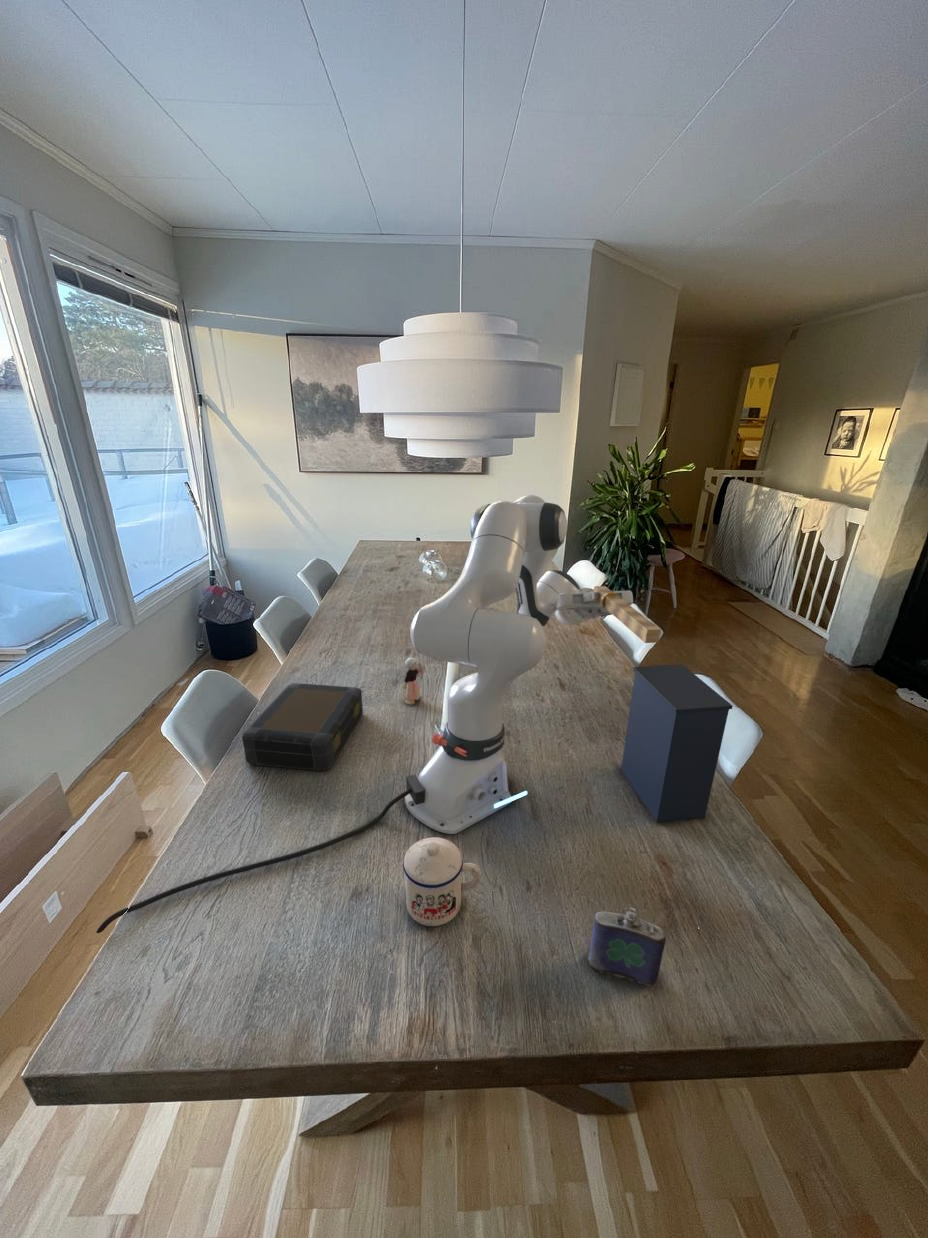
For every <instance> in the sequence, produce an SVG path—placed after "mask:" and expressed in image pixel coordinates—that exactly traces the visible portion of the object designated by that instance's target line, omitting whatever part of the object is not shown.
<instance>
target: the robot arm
mask: <svg viewBox="0 0 928 1238" xmlns="http://www.w3.org/2000/svg"><path fill="white" fill-rule="evenodd" d="M469 531H470V537H471V543H470V547H469V550H468V553H467V557H466V560H465V563H464V566H463V569H462V570H461V571H462V572H461V573H460V576H459V577H458V578H457V580H456V582H455V583H454V584H453V586H451V588H449V590H447V591H446V592H445V593H444V594H443V595H442V596H440V597H439V598H438V599H436V600H434V601H432V602H430V603H427V604H425V605H424V606H422V607H421V608H419V610H418V611H417V612H416V613H415V614H414V616H413V619H412V621H411V624H410V631H409V633H410V635H409V636H410V641H411V643H412V646H413V648H414V650H415V651H416V653H418V654H420V655H423V656H425V657H427V658H430V659H433V660H436V661H438V662H444V663H452V664H460V665H466V666H472V667H474V668H476V671H477V672H474V673H471V674H468V675H466V676H463V677H461V678H459V679H458V680H456V681H455V682H454V683H452V685H451V686H450V688H449V690H448V693H447V721H446V723H445V727H444V730H443V733H442V735H441V734H440V733H438V732H436V733H434V734H433V736H432V738H431V742H432V743H433V744H435V745H437V746H439V747H438V748H437V749H436V750H435V752H434V753H433V755H432V756H431V757H430V759H428V761H427V763H426V764H425V765H424V767H423V768H422V770H421V771H420V773H419V774H418V777H417V775H416V774H415V773H414V774H410V775H406V777H405V780H406V781H405V783H406V790H405V791H403V792H401V793H400V794H398V795H397V796H395V797H394V798H393V799H392V800H390V801H389V802H388V803H387V804H386V806H385V807H384V809H383V810H382V811H381V813H380V814H378V815H377V816H376V817H375V818H373V819H372V820H371V821H368V822H367V823H366V824H364V825H362V826H360V827H358V828H355V829H353V830H351V831H348V832H347V833H344V834H342V835H340V836H338V837H335V838H333V839H329V840H328V841H326V842H322V843H319V844H317V845H314V846H311V847H308V848H304V849H302V850H299V851H296V852H292V853H288V854H285V855H280V856H277V857H274V858H270V859H265V860H261V861H258V862H254V863H251V864H247V865H244V866H239V867H236V868H232V869H228V870H224V871H222V872H218V873H215V874H214V873H213V874H211V875H207V876H205V877H201V878H199V879H196V880H192V881H189V882H187V883H183V884H181V885H179V886H176V887H173V888H170V889H168V890H165V891H163V892H160V893H158V894H156V895H153V896H151V897H149V898H147V899H143V900H142V901H140V902H137V903H135V904H132V905H130V908H129V909H128V907H129V906H127V907H124V908H122V909H119V910H118V911H116V912H115V913H113V914H111V915H110V916H108V917H107V918H106V919H105V920H104V921H102V923H101V924H100V925H99V927H98V928H97V930H96V931H95V933H96V934H100V933H102V932H104V931H105V930H106V929H107V927H108V926H109V925H111V923H112V922H114V921H115V920H117V919H118V918H120V917H123V916H124V915H126V914H129V913H131V912H134V911H137V910H139V909H141V908H144V907H147V906H148V905H151V904H153V903H155V902H157V901H159V900H162V899H165V898H167V897H169V896H172V895H174V894H178V893H179V892H180V893H181V892H182V891H186V890H188V889H191V888H193V887H197V886H200V885H203V884H206V883H208V882H212V881H216V880H219V879H223V878H226V877H229V876H233V875H236V874H240V873H245V872H247V871H251V870H255V869H258V868H262V867H266V866H271V865H274V864H278V863H281V862H285V861H288V860H289V861H290V860H293V859H295V858H299V857H302V856H304V855H308V854H310V853H314V852H317V851H319V850H322V849H325V848H328V847H330V846H332V845H335V844H337V843H340V842H342V841H344V840H346V839H348V838H351V837H354V836H356V835H358V834H361V833H362V832H364V831H366V830H367V829H369V828H371V827H373V826H374V825H376V824H377V823H378V822H380V821H381V820H382V819H383V818H384V817H385V816H386V815H387V813H388V812H389V810H390V809H391V808H392V807H393V806H394V805H395V804H396V803H397V802H399V801H400V800H402V799H403V798H404V805H405V807H406V809H407V810H408V812H409V813H410V815H412V816H413V817H414V818H415V819H417V820H418V821H419V822H420V823H422V824H424V825H425V826H427V827H428V828H429V829H432V830H434V831H437V832H439V833H443V834H446V835H447V834H448V835H456V834H458V833H461V832H462V831H464V830H465V829H467V828H469V827H471V826H472V825H474V824H476V823H479V822H480V821H482V820H483V819H485V818H487V817H489V816H490V815H493V814H494V813H496V812H498V811H500V810H501V809H504V808H505V807H507V806H509V805H510V804H511V803H512V802H513V801H515V800H517V799H520V798H523V797H524V796H527V795H528V791H527V790H525V791H522V792H520V793H518V794H516V795H511V791H510V790H509V780H508V769H507V768H508V767H507V762H506V758H505V752H504V745H505V739H506V732H505V731H506V730H505V729H506V728H505V724H504V710H505V702H506V697H507V694H508V691H509V690H510V687H511V686H512V684H513V683H514V681H516V680H517V679H518V678H519V677H521V676H522V675H524V674H525V673H527V672H529V671H531V670H532V669H534V668H536V666H538V664H539V663H540V662H541V660H542V659H543V657H544V654H545V652H546V648H547V636H546V631H545V629H544V627H545V626H546V625H547V624H548V623H549V621H550V620H551V618H552V617H553V615H554V614H555V618H556V619H557V621H558V622H560V623H561V624H563V625H566V626H577V625H579V624H582V623H584V622H587V621H589V620H594V619H596V618H599V617H604V616H605V617H606V616H613V614H611V613H610V612H609V611H608V610H607V609H605V608H604V607H603V606H602V605H601V604H600V603H599V602H598V601H597V599H599V592H594V588H591V587H582V588H580V586H579V584H578V583H577V581H576V580H575V579H574V578H573V577H572V576H571V575H570V574H568V573H567V572H565V571H563V570H559V569H549V570H546V569H547V568H548V566H549V565H550V564H551V562H552V561H553V559H554V558H555V556H556V555H557V552H558V550H559V548H560V547H561V546H562V545H563V544H564V543H565V539H566V536H567V533H568V520H567V517H566V513H565V510H564V509H563V508H562V507H561V506H560V505H559V504H556V503H552V502H546V501H545V500H544V499H543V498H541V497H540V496H538V495H533V494H527V495H523V496H521V497H519V498H517V499H516V500H515V501H508V500H499V501H495V502H493V503H487V504H483V505H480V506H478V507H477V508H476V509H475V510H474V512H473V513H472V515H471V517H470V522H469ZM545 570H546V571H545ZM544 572H545V573H544ZM611 591H612V592H614V593H616V594H617V595H618V596H619V597H620V598H621V599H622V600H624V601H625V602H626V603H628V604H629V605H630V606H632V605H633V603H634V596H633V591H632V590H611ZM514 592H515V595H516V601H517V602H516V611H512V610H505V609H495V608H489V607H490V606H492V605H493V604H496V603H499V602H501V601H503V600H506V599H507V598H509V597H510V596H511V595H512V594H513V593H514ZM127 910H128V911H127ZM126 911H127V913H126V914H124V913H125V912H126ZM123 914H124V915H123Z"/></svg>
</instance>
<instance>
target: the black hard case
mask: <svg viewBox="0 0 928 1238" xmlns="http://www.w3.org/2000/svg"><path fill="white" fill-rule="evenodd" d="M363 714H364V709H363V695H362V689H361V688H359V687H353V686H340V685H326V684H315V683H314V684H313V683H301V682H299V683H298V682H292V683H290V684H288V685H287V686H286V687H285V688H284V689H283V690H282V691H281V692H280V693H279V694H278V695H277V696H276V697H275V698H274V700H273V701H272V702H270V704H269V705H268V706H267V707H266V708H265V709H264V710H263V711H262V712H261V713H260V714H259V716H257V718H256V719H255V720H254V721H253V722H252V723H251V724H250V725H249V726H248V727H247V728H246V729H245V730H244V731H243V732H242V737H241V738H242V744H243V750H244V755H245V761H246V763H247V764H249V765H255V766H257V765H258V766H265V767H277V768H288V769H297V770H298V769H299V770H307V771H320V772H324V771H328V770H330V769H331V768H332V767H333V765H334V763H335V762H336V760H337V759H338V757H339V755H340V754H341V752H342V751H343V748H344V747H345V745H346V743H347V742H348V740H349V738H350V737H351V735H352V733H353V732H354V730H355V728H356V727H357V725H358V723H359V721H360V720H361V718H362V717H363Z"/></svg>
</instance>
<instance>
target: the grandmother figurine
mask: <svg viewBox="0 0 928 1238" xmlns="http://www.w3.org/2000/svg"><path fill="white" fill-rule="evenodd" d="M417 663H418V659H417V658H415V657H408V658H407V659H406V660H405V661H404V665H405V667H406V668H407V671H406V673H405V678H404V680H403V685H402V688H403V689H404V690H406V691H405V695H406V696H405V704H407V705H409V706H413V705H414V704H415V703H416V701H419V699H420V698H421V696H420V689H419V684H418V679H417V678H419V676H420V674H419V670H418V669H417Z"/></svg>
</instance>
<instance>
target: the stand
mask: <svg viewBox="0 0 928 1238" xmlns="http://www.w3.org/2000/svg"><path fill="white" fill-rule="evenodd" d="M632 671H633V672H634V675H633V684H632V690H631V697H630V704H629V712H628V718H627V726H626V733H625V740H624V747H623V754H622V761H621V767H620V770H621V772H622V774H623V775H624V777H625V778H626V779H627V781H628V783H629V784H630V786H631V787H632V788H633V790H634V791H635V793H636V795H637V796H638V797H639V799H640V801H641V802H642V803H643V805H644V806H645V807H646V809H647V811H648V812H649V814H650V815H651V817H652V818H653V820H654V821H655V822H656V823H665V822H666V823H667V822H675V821H676V822H677V821H686V820H695V819H704V818H706V815H707V809H708V806H709V801H710V797H711V792H712V788H713V783H714V778H715V775H716V771H717V765H718V761H719V757H720V752H721V748H722V743H723V738H724V733H725V729H726V725H727V720H728V716H729V711H730V710H732V709H733V704H731V703H730V701H728V700H727V699H726V698H724V697H723V696H722V695H721V694H720V693H718V692H717V691H715V690H714V689H713V688H712V687H711V686H710V685H708V684H707V683H706V682H705V681H704V680H702V679H701V678H699V677H698V676H697V675H696V674H695V673H694V672H693V671H691V670H690V669H689V668H688V667H686V666H685V665H684V664H683V663H679V664H678V663H677V664H665V665H663V664H662V665H647V666H633V668H632Z"/></svg>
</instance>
